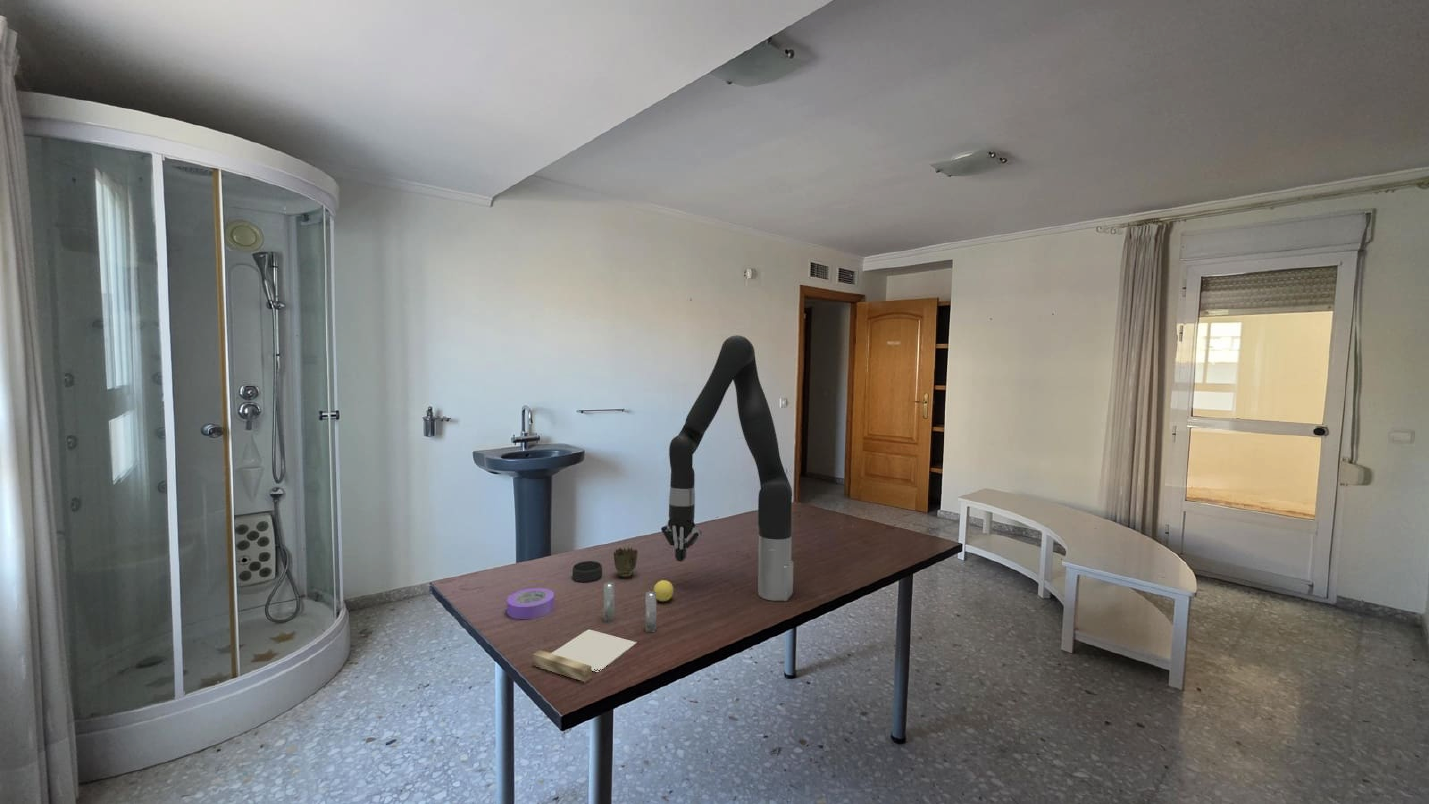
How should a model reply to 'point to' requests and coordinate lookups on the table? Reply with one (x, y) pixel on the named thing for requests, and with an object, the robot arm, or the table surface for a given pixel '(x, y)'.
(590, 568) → the smart speaker
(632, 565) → the cup
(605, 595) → the post left
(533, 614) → the masking tape
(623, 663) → the table surface
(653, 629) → the post right
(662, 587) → the ball
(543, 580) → the table surface
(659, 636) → the table surface
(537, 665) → the strip
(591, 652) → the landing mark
